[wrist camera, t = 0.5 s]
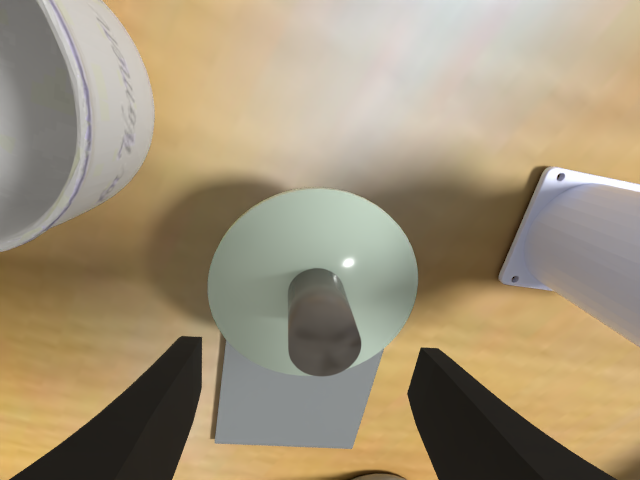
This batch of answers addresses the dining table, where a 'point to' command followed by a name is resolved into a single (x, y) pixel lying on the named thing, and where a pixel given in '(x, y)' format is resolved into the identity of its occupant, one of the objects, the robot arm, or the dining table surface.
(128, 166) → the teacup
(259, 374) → the mat
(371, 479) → the water bottle
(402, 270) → the lid
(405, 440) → the dining table surface
